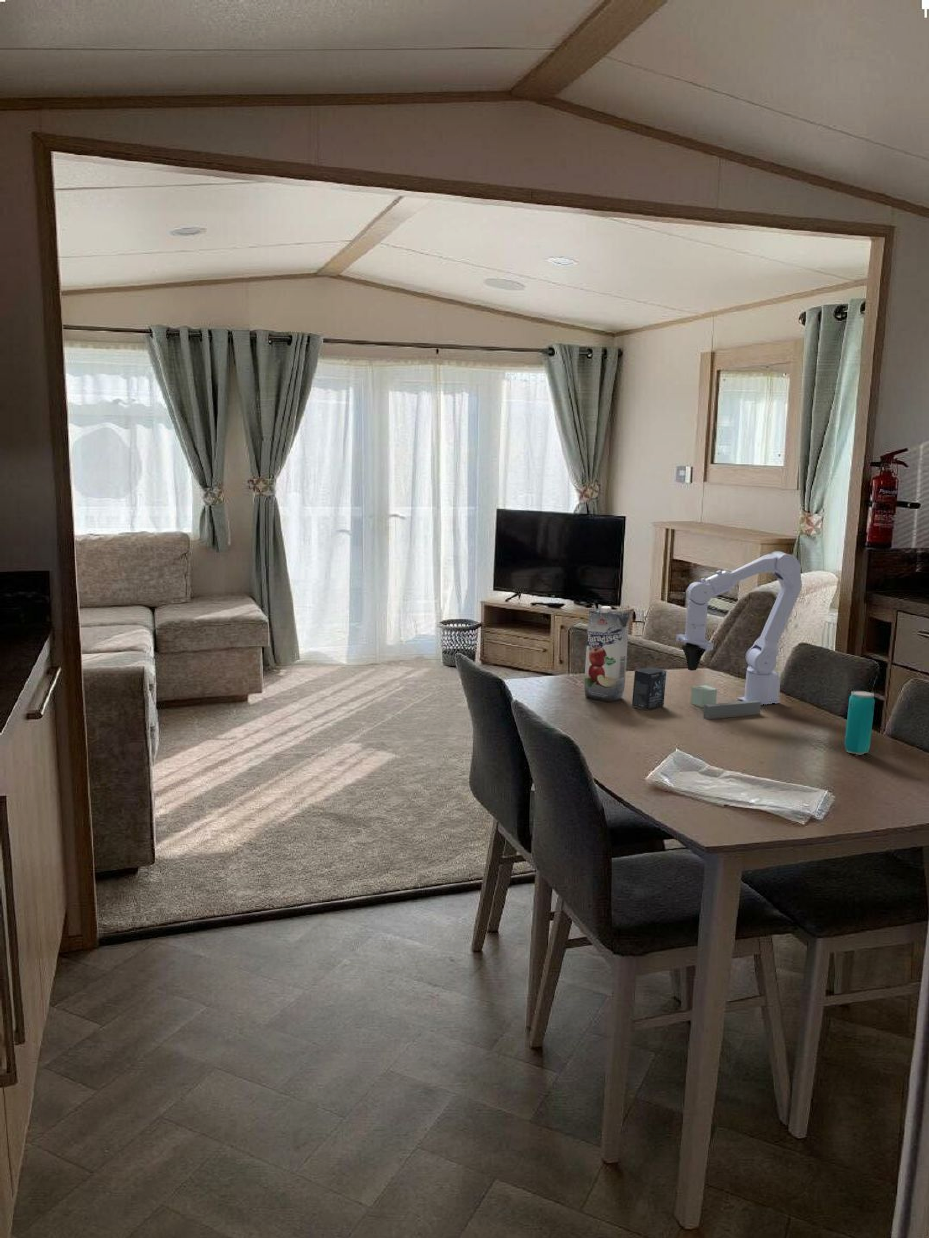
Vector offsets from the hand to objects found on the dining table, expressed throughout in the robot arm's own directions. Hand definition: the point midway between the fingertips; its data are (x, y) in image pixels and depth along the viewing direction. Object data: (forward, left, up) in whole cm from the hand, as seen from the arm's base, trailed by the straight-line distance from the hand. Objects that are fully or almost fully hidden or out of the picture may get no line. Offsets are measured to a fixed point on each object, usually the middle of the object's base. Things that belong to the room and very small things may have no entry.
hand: (692, 669), depth 287 cm
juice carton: (+24, -9, -9) cm, 27 cm away
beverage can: (-7, +56, -9) cm, 57 cm away
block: (0, +6, -9) cm, 11 cm away
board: (0, +19, -9) cm, 20 cm away
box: (+17, +3, -9) cm, 19 cm away
